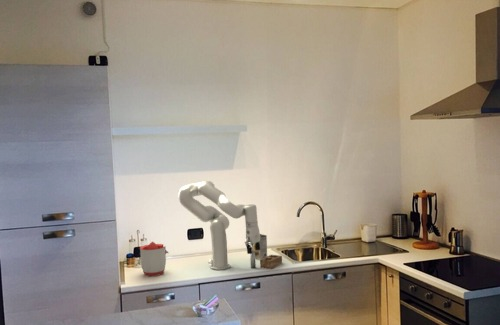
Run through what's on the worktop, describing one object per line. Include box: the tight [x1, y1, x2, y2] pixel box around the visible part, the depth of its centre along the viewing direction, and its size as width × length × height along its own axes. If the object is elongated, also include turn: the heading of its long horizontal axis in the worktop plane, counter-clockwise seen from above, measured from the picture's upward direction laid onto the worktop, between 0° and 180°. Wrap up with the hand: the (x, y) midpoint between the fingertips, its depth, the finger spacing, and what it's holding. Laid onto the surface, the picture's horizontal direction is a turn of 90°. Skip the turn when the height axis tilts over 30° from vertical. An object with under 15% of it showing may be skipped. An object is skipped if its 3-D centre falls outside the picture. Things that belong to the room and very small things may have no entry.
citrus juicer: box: [139, 241, 169, 277], centre depth 288 cm, size 16×17×20 cm
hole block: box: [259, 254, 283, 270], centre depth 295 cm, size 8×14×5 cm, turn 149°
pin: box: [249, 251, 256, 269], centre depth 291 cm, size 3×3×10 cm
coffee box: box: [251, 233, 268, 261], centre depth 314 cm, size 9×6×16 cm
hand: (253, 251), depth 291 cm, fingers open, 9 cm apart
